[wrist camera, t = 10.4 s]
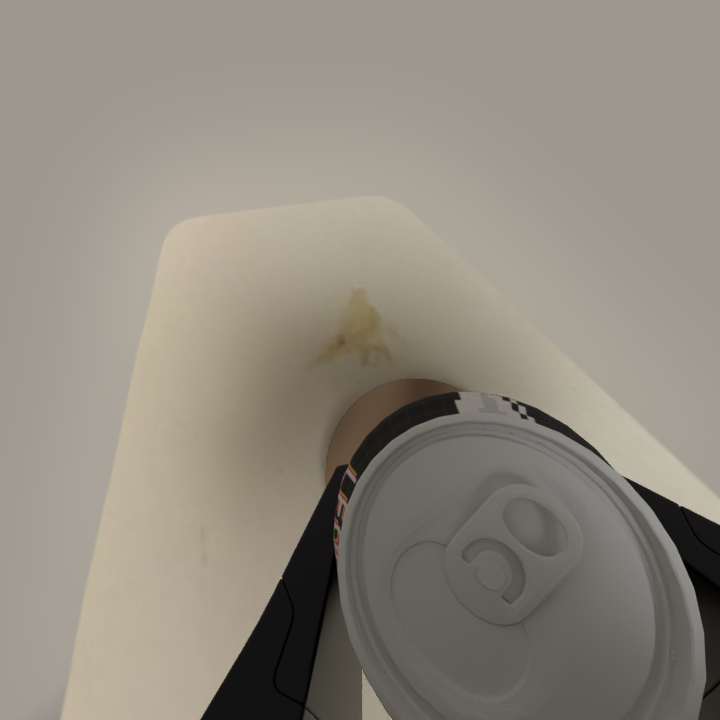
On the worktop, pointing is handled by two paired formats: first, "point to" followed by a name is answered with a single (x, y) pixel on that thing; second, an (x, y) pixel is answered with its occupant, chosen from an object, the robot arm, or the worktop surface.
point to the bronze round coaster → (375, 415)
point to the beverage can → (510, 573)
